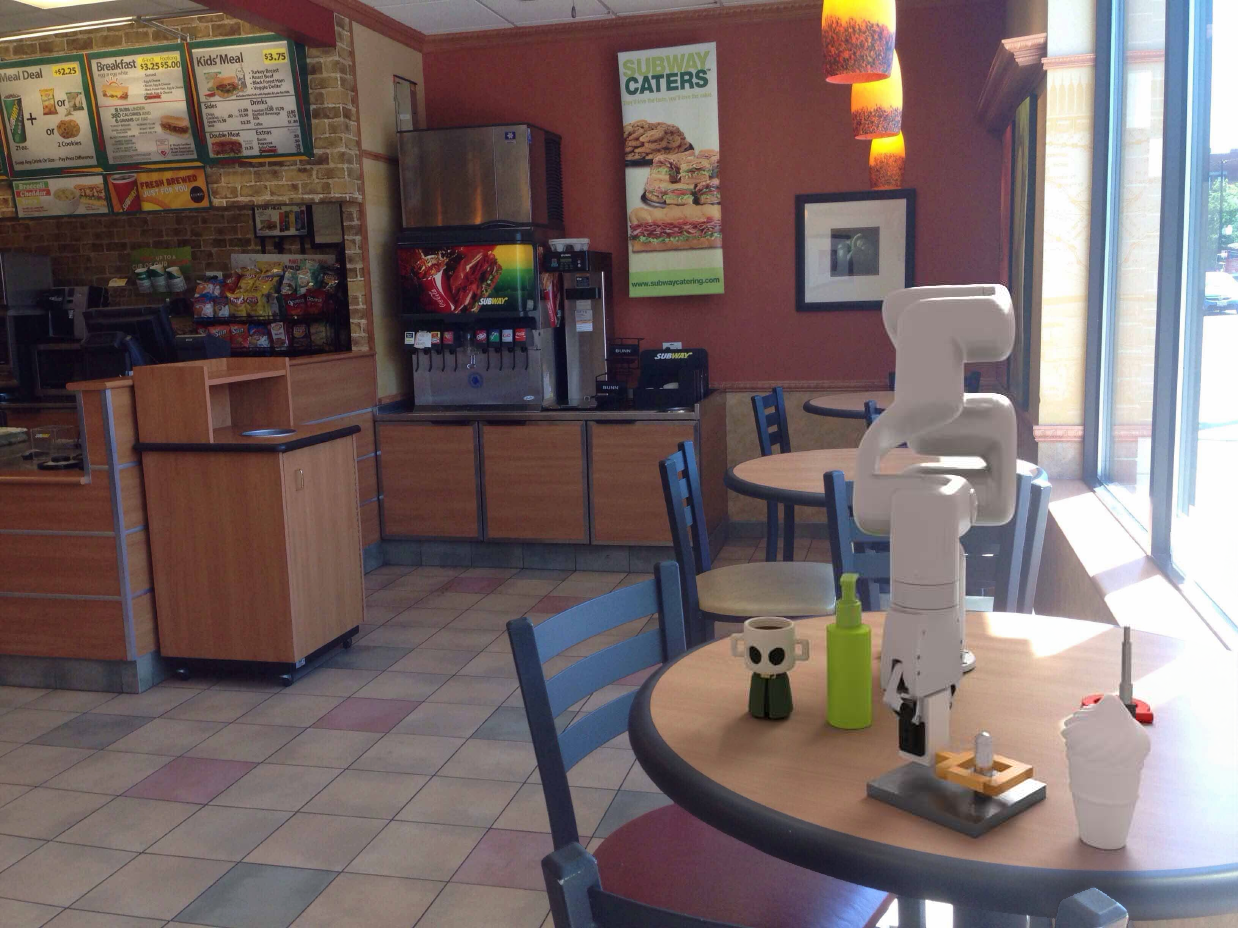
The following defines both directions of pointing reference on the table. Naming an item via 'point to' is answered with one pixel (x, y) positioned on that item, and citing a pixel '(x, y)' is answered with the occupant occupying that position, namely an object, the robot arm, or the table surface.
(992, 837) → the table surface
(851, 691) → the soap dispenser
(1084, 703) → the tow hook
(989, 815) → the plate
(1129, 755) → the soft serve ice cream cone
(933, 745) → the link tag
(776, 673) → the character mug
